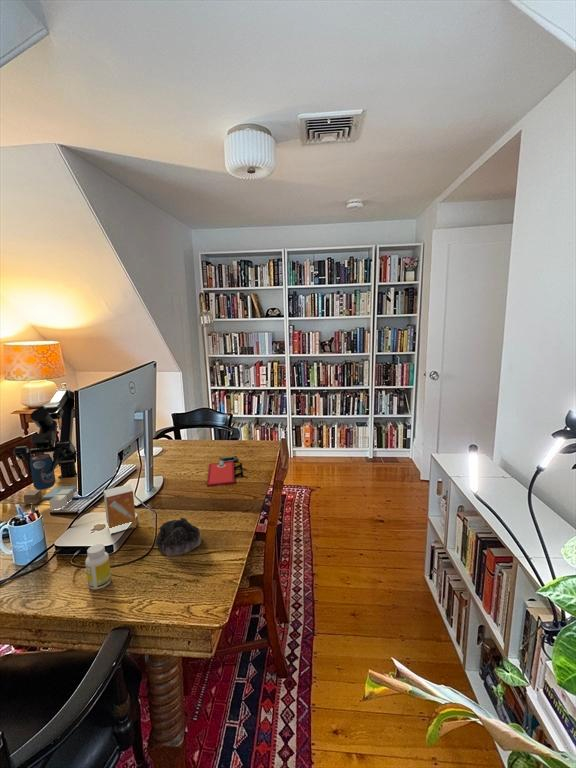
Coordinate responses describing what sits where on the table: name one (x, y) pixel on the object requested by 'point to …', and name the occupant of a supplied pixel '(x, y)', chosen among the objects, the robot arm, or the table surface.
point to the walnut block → (32, 497)
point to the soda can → (42, 472)
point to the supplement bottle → (98, 567)
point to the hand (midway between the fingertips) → (41, 471)
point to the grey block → (67, 493)
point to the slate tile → (57, 491)
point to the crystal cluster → (178, 537)
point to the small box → (119, 506)
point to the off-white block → (58, 501)
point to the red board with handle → (223, 472)
